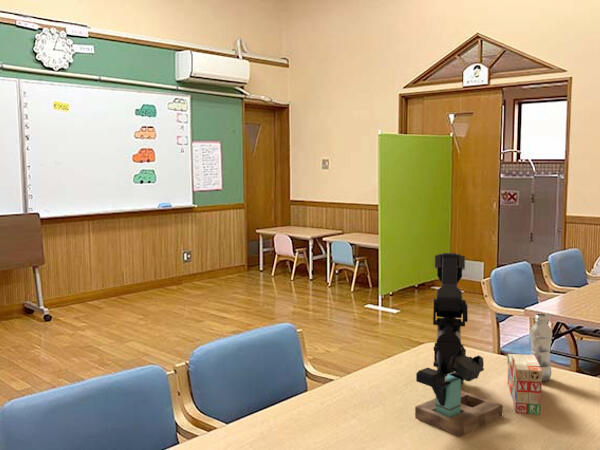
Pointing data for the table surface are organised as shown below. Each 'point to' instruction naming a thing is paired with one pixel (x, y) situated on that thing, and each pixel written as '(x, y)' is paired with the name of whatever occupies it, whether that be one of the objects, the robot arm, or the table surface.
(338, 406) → the table surface
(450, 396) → the teal peg
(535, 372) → the stack of blocks
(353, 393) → the table surface
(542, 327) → the plastic bottle
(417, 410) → the walnut board
